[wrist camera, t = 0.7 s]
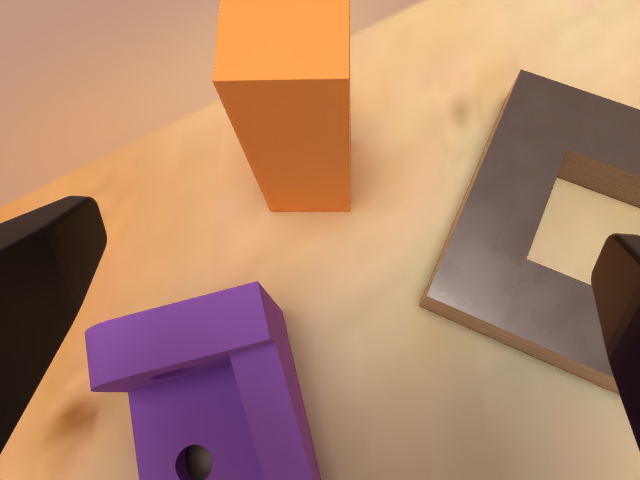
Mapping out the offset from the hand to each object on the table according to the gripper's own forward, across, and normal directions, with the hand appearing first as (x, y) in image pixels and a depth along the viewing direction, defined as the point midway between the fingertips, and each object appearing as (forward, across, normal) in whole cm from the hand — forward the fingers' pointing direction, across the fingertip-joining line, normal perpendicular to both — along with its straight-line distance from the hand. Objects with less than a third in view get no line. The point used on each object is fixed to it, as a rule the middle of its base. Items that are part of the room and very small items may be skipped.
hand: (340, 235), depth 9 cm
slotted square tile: (+13, -11, +9) cm, 19 cm away
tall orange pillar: (+15, +2, +7) cm, 17 cm away
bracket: (+4, +4, +16) cm, 17 cm away
